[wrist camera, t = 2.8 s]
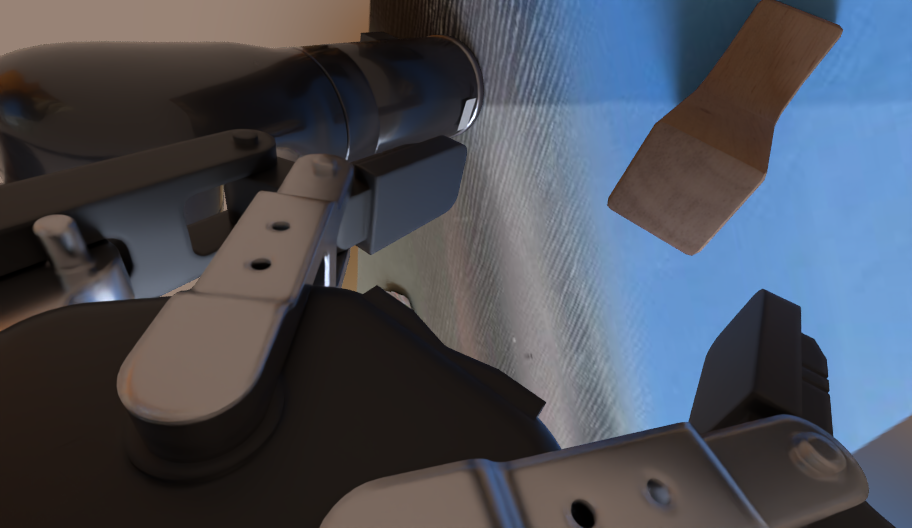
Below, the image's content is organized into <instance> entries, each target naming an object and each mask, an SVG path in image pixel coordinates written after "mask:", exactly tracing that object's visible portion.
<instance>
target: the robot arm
mask: <svg viewBox="0 0 912 528" xmlns="http://www.w3.org/2000/svg"><path fill="white" fill-rule="evenodd" d="M483 96H484V85H483V78H482V73H481V70H480V67H479V64H478V62H477V60H476V58H475V56H474V55H473V53H472V52H471V51H470V49H469V48H468V47H467V46H466V45H465V44H464V43H462V42H461V41H460V40H458V39H456V38H454V37H452V36H448V35H432V36H428V37H419V38H404V39H398V38H396V37H394V36H392V35H389V34H387V33H385V32H369V33H361V40H360V42H351V43H336V44H322V45H312V46H299V47H282V48H266V47H260V46H253V45H247V44H240V43H232V42H114V41H113V42H109V41H101V42H100V41H99V42H98V41H97V42H66V43H55V44H44V45H38V46H33V47H28V48H23V49H19V50H15V51H13V52H10V53H7V54H4V55H1V56H0V176H1V178H2V180H3V183H0V528H895V527H894V526H893V525H892V524H891V523H890V522H889V521H887V520H886V519H885V518H884V517H882V516H881V515H880V514H879V513H878V512H877V511H876V510H875V509H873V508H872V507H871V506H870V505H869V504H868V503H867V502H866V501H865V500H866V498H867V497H868V493H869V487H868V482H867V479H866V476H865V474H864V472H863V470H862V469H861V467H860V466H859V464H858V463H857V461H856V460H855V459H854V457H853V456H852V455H851V454H850V452H849V451H848V450H847V449H846V448H845V447H844V446H843V445H842V444H841V443H840V442H839V441H838V440H836V439H835V438H834V437H833V427H832V415H831V403H830V395H829V394H828V392H829V380H827V377H828V368H827V359H826V357H825V356H824V354H823V353H822V351H821V349H820V348H819V346H818V344H817V343H816V341H815V339H813V338H811V337H809V336H807V335H805V334H803V333H801V307H800V306H798V305H796V304H794V303H792V302H790V301H788V300H786V299H783V298H781V297H779V296H777V295H775V294H773V293H771V292H769V291H767V290H765V289H761V290H759V291H758V292H757V293H756V294H755V295H754V296H753V297H752V298H751V299H750V300H749V301H748V302H747V304H746V305H745V306H744V307H743V308H742V309H741V310H740V312H739V313H738V314H737V315H736V316H735V317H734V319H733V320H732V321H731V322H730V323H729V324H728V325H727V327H726V328H725V329H724V330H723V331H722V332H721V333H720V335H719V336H718V337H717V338H716V340H715V341H714V343H713V344H712V346H711V347H710V349H709V351H708V353H707V355H706V358H705V362H704V365H703V369H702V373H701V377H700V380H699V384H698V388H697V392H696V395H695V399H694V403H693V407H692V410H691V414H690V418H689V422H681V423H676V424H671V425H667V426H663V427H658V428H654V429H649V430H645V431H641V432H636V433H632V434H627V435H623V436H618V437H614V438H610V439H605V440H601V441H596V442H592V443H588V444H583V445H579V446H574V447H570V448H566V449H561V448H560V446H559V444H558V443H557V441H556V439H555V438H554V436H553V435H552V434H551V432H550V431H549V430H548V428H547V427H546V426H545V425H544V424H543V423H542V421H541V420H540V419H539V418H538V416H539V414H540V413H541V411H542V409H543V407H544V406H545V404H546V402H545V401H544V400H542V399H541V398H539V397H538V396H536V395H535V394H534V393H532V392H531V391H529V390H528V389H526V388H525V387H523V386H522V385H521V384H519V383H518V382H516V381H515V380H513V379H512V378H510V377H509V376H508V375H506V374H505V373H503V372H502V371H500V370H499V369H497V368H494V367H492V366H490V365H487V364H485V363H483V362H480V361H478V360H476V359H473V358H471V357H469V356H466V355H464V354H462V353H459V352H457V351H455V350H452V349H450V348H448V347H447V346H445V345H444V344H443V343H442V342H441V341H440V340H439V339H438V338H437V336H436V335H435V334H434V333H433V332H432V331H431V330H430V329H429V327H428V326H427V325H426V324H425V323H424V322H423V321H422V320H421V318H420V317H419V316H418V315H417V314H416V313H415V312H414V311H413V310H412V309H411V308H409V307H408V306H406V305H405V304H403V303H402V302H401V301H399V300H398V299H396V298H395V297H393V296H392V295H390V294H389V293H388V292H386V291H385V290H383V289H382V288H380V287H379V286H377V285H376V286H375V287H373V288H372V289H370V290H369V291H367V292H366V293H364V294H361V293H358V292H355V291H351V290H348V289H342V288H341V287H342V283H343V279H344V276H345V272H346V268H347V265H348V261H349V258H350V247H352V246H354V245H356V246H358V247H359V248H361V249H362V250H364V251H365V252H367V253H368V254H370V255H372V254H374V253H375V252H377V251H379V250H381V249H382V248H384V247H386V246H388V245H389V244H391V243H393V242H395V241H396V240H398V239H400V238H402V237H403V236H405V235H407V234H409V233H411V232H412V231H414V230H416V229H418V228H419V227H421V226H423V225H425V224H426V223H428V222H430V221H432V220H433V219H435V218H437V217H439V216H440V215H442V214H444V213H446V212H447V211H448V210H449V209H450V208H451V207H452V206H453V204H454V203H455V201H456V199H457V196H458V192H459V188H460V183H461V179H462V174H463V170H464V165H465V161H466V156H467V148H466V146H465V145H463V144H461V143H459V142H457V141H455V140H453V139H451V138H450V137H454V136H457V135H459V134H462V133H464V132H465V131H467V130H468V129H469V128H470V127H471V126H472V125H473V124H474V122H475V121H476V119H477V117H478V115H479V113H480V111H481V107H482V103H483ZM224 192H225V198H226V204H227V210H226V211H223V206H224ZM199 277H200V278H199ZM196 278H199V279H198V281H197V282H196V284H195V285H194V286H193V287H192V288H191V289H190V290H187V291H180V292H177V293H176V294H174V295H173V296H168V297H160V296H162V295H164V294H166V293H168V292H170V291H172V290H174V289H176V288H178V287H180V286H182V285H184V284H186V283H188V282H191V281H192V280H195V279H196Z"/></svg>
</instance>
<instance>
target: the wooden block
mask: <svg viewBox="0 0 912 528" xmlns="http://www.w3.org/2000/svg"><path fill="white" fill-rule="evenodd" d="M842 32H843V29H842V28H841V26H840V25H838V24H835V23H833V22H830V21H827V20H825V19H822V18H820V17H817V16H814V15H812V14H809V13H807V12H804V11H802V10H799V9H796V8H794V7H791V6H789V5H786V4H783V3H781V2H778V1H776V0H761V1H760V2H759V3H758V4H757V5H756V7H755V8H754V10H753V11H752V13H751V14H750V16H749V17H748V19H747V20H746V22H745V23H744V24H743V26H742V27H741V29H740V30H739V32H738V33H737V35H736V36H735V38H734V39H733V41H732V42H731V44H730V45H729V47H728V48H727V49H726V51H725V52H724V54H723V55H722V56H721V58H720V59H719V61H718V62H717V63H716V65H715V66H714V67H713V69H712V70H711V72H710V73H709V74H708V76H707V77H706V78H705V80H704V81H703V82H702V83H701V84H700V85H699V87H698V88H697V89H696V90H695V91H694V92H693V93H692V94H691V95H689V96H688V97H687V98H686V99H685V100H683V101H682V102H681V103H680V104H679V105H677V106H676V107H675V108H674V109H672V110H671V111H670V112H669V113H668V114H666V115H665V116H664V117H663V118H662V119H660V120H659V121H658V122H657V123H656V124H655V125H654V126H653V128H652V129H651V131H650V133H649V134H648V136H647V137H646V139H645V140H644V142H643V144H642V145H641V147H640V148H639V150H638V152H637V153H636V155H635V156H634V158H633V160H632V161H631V163H630V164H629V166H628V167H627V169H626V171H625V172H624V174H623V175H622V177H621V179H620V180H619V182H618V183H617V185H616V186H615V188H614V190H613V191H612V193H611V194H610V196H609V198H608V204H607V206H608V207H609V208H610V209H611V210H613V211H614V212H616V213H618V214H619V215H621V216H623V217H624V218H626V219H628V220H630V221H631V222H633V223H635V224H636V225H638V226H640V227H641V228H643V229H645V230H646V231H648V232H650V233H651V234H653V235H655V236H656V237H658V238H660V239H661V240H663V241H665V242H666V243H668V244H670V245H671V246H673V247H675V248H676V249H678V250H680V251H682V252H683V253H685V254H687V255H691V256H692V255H694V254H696V253H698V252H700V251H701V250H702V249H703V248H704V247H705V246H706V244H707V243H708V242H709V241H710V240H711V239H712V238H713V237H714V236H715V234H716V233H717V232H718V231H719V230H720V229H721V228H722V227H723V226H724V224H725V223H726V222H727V221H728V220H729V219H730V218H731V217H732V216H733V214H734V213H735V212H736V211H737V210H738V209H739V208H740V207H741V206H742V204H743V203H744V202H745V201H746V200H747V199H748V198H749V197H750V196H751V194H752V193H753V192H754V191H755V190H756V189H757V188H758V187H759V186H760V184H761V183H762V182H763V181H764V180H765V177H766V174H767V169H768V163H769V157H770V151H771V145H772V139H773V133H774V127H775V125H776V123H777V121H778V119H779V117H780V115H781V114H782V112H783V111H784V109H785V108H786V107H787V105H788V104H789V102H790V101H791V100H792V98H793V97H794V95H795V94H796V93H797V91H798V90H799V88H800V87H801V86H802V84H803V83H804V82H805V80H806V79H807V78H808V77H809V75H810V74H811V73H812V72H813V70H814V69H815V68H816V67H817V65H818V64H819V63H820V62H821V61H822V59H823V58H824V57H825V56H826V54H827V53H828V52H829V51H830V49H831V48H832V47H833V46H834V44H835V43H836V42H837V41H838V39H839V38H840V37H841V34H842Z"/></svg>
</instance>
